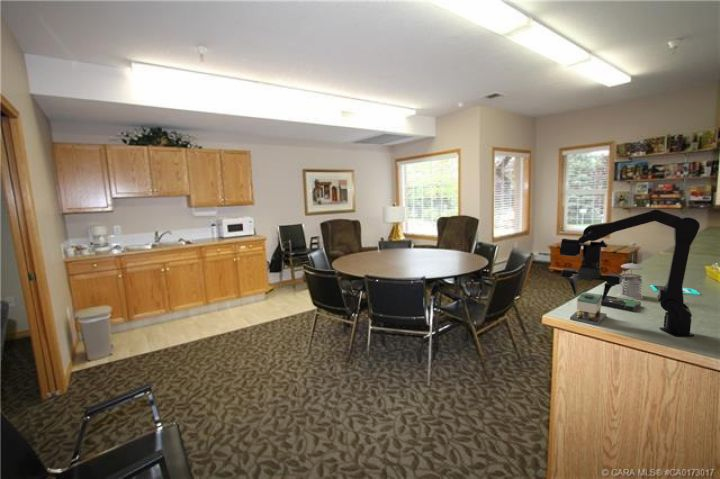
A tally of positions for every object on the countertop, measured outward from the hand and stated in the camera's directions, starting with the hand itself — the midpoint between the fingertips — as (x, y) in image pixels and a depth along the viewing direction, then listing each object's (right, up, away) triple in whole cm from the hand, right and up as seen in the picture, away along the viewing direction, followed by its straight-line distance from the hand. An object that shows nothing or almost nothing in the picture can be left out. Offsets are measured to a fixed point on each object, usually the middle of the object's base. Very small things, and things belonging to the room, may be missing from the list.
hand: (589, 297), depth 129 cm
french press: (+36, -4, +25) cm, 44 cm away
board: (0, -4, 0) cm, 4 cm away
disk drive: (+21, -6, +14) cm, 26 cm away
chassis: (0, -8, +1) cm, 8 cm away
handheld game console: (+62, -3, +31) cm, 70 cm away
